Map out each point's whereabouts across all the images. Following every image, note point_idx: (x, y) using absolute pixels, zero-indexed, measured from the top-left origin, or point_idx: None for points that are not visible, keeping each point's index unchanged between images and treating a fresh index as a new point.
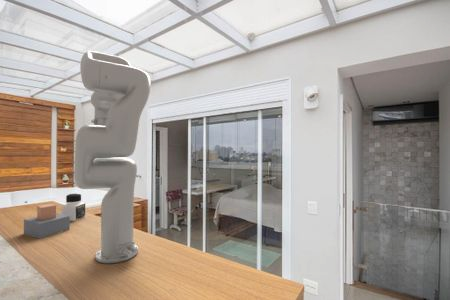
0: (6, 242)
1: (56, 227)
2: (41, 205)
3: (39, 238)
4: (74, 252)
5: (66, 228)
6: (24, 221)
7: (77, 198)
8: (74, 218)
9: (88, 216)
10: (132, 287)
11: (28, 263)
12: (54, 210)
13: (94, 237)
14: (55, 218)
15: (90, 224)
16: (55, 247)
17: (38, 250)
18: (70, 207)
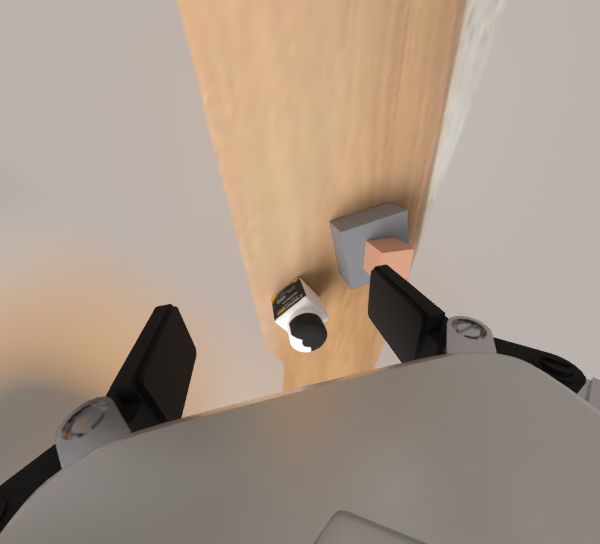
0: (424, 224)
1: (362, 216)
2: (401, 275)
3: (388, 202)
4: (386, 18)
5: (337, 220)
6: None
7: (303, 319)
8: (302, 281)
9: (264, 296)
10: None
11: (459, 47)
12: (378, 247)
13: (311, 101)
14: (369, 232)
15: (281, 227)
16: (393, 108)
17: (418, 121)
18: (315, 303)
